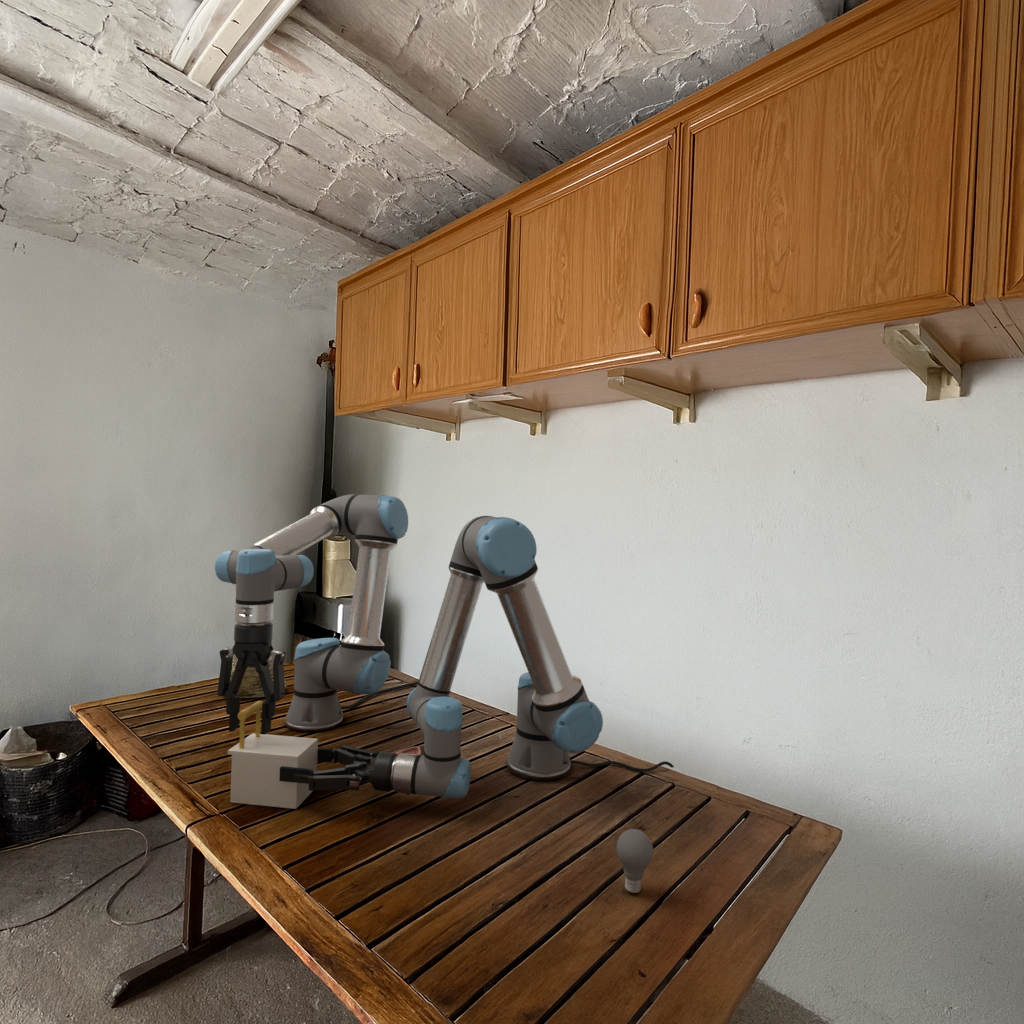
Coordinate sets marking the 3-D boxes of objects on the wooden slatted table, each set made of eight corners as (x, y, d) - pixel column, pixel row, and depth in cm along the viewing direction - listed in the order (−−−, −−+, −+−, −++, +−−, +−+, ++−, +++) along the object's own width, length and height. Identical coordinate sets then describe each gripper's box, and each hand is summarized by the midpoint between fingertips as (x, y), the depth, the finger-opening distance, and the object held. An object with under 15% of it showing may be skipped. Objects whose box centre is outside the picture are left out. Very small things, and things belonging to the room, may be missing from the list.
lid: (227, 754, 130) (228, 713, 129) (252, 737, 139) (253, 698, 139) (297, 760, 128) (299, 718, 128) (318, 742, 138) (319, 703, 138)
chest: (230, 802, 130) (231, 755, 130) (254, 781, 139) (256, 737, 139) (296, 809, 128) (297, 761, 128) (316, 787, 138) (318, 742, 138)
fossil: (218, 695, 195) (220, 647, 195) (278, 685, 208) (279, 640, 207) (228, 703, 189) (230, 653, 188) (289, 692, 201) (290, 645, 201)
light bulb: (610, 879, 108) (613, 822, 108) (644, 879, 109) (647, 822, 109) (619, 902, 102) (622, 840, 102) (655, 901, 103) (658, 840, 103)
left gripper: (200, 622, 131) (196, 733, 132) (289, 629, 129) (285, 741, 129) (220, 616, 139) (217, 721, 139) (305, 622, 136) (301, 728, 137)
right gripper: (377, 817, 120) (265, 805, 122) (409, 767, 142) (314, 759, 145) (378, 777, 120) (266, 767, 122) (410, 734, 142) (315, 726, 144)
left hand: (250, 730), depth 134 cm, fingers open, 6 cm apart
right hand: (292, 762), depth 133 cm, fingers closed on chest, 10 cm apart
